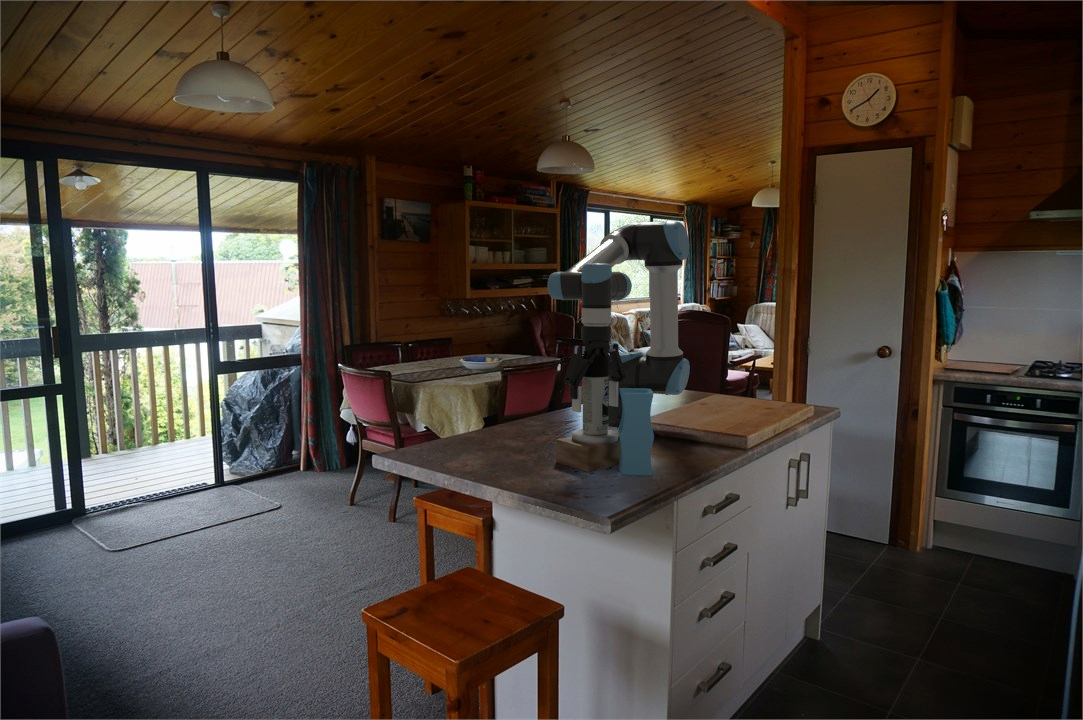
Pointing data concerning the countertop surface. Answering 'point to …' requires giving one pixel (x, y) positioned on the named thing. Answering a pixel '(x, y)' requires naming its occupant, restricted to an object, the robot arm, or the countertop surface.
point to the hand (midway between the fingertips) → (595, 408)
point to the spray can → (595, 397)
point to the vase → (636, 432)
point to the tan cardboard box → (589, 450)
